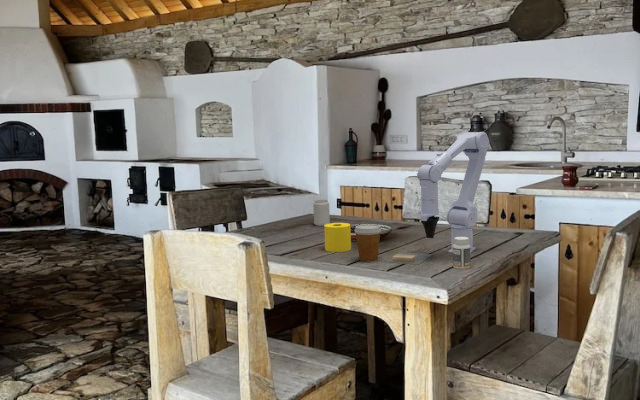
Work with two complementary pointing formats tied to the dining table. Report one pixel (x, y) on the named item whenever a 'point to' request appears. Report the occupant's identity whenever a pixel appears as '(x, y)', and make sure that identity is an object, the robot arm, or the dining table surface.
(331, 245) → the yellow toilet paper roll
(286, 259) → the dining table surface
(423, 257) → the mat
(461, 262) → the pill bottle
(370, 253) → the disposable coffee cup
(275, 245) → the dining table surface
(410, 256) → the wooden block
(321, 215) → the can
